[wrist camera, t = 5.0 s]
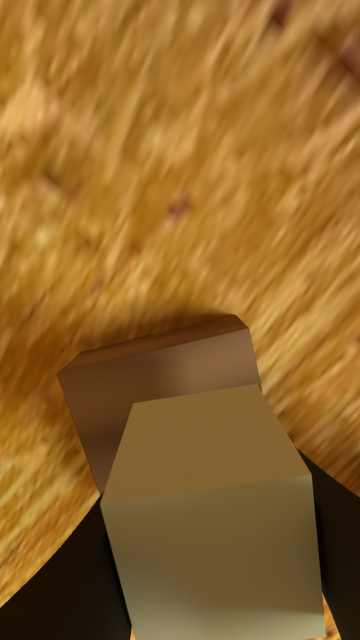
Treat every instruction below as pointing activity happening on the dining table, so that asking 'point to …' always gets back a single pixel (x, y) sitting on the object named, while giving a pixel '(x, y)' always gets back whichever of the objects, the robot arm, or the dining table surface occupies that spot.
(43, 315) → the dining table surface
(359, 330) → the dining table surface
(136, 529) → the sage cube
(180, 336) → the walnut riser
